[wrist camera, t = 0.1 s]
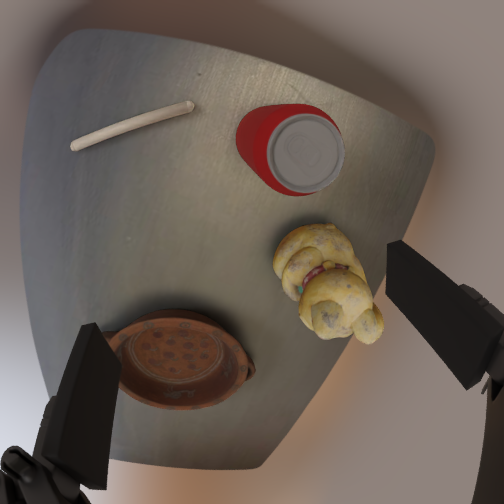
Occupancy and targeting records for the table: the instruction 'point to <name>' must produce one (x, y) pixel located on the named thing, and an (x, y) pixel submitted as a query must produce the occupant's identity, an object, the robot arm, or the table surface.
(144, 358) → the dish
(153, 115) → the wooden stick
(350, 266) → the decorative figurine
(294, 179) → the beverage can
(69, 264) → the table surface
